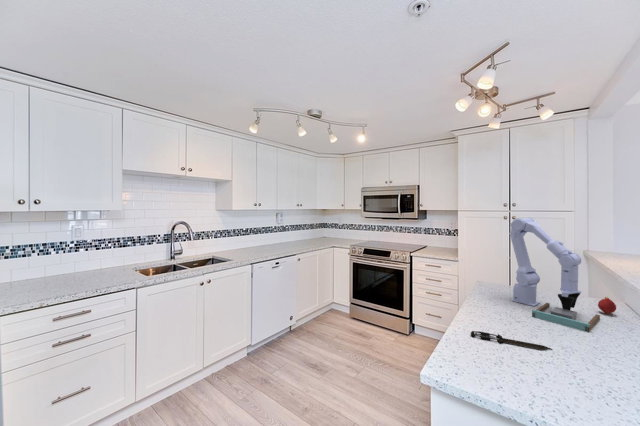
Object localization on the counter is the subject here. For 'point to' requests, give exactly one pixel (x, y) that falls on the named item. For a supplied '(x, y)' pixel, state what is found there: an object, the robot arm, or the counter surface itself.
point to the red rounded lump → (607, 305)
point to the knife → (508, 340)
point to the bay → (564, 319)
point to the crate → (564, 313)
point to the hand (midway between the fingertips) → (568, 309)
